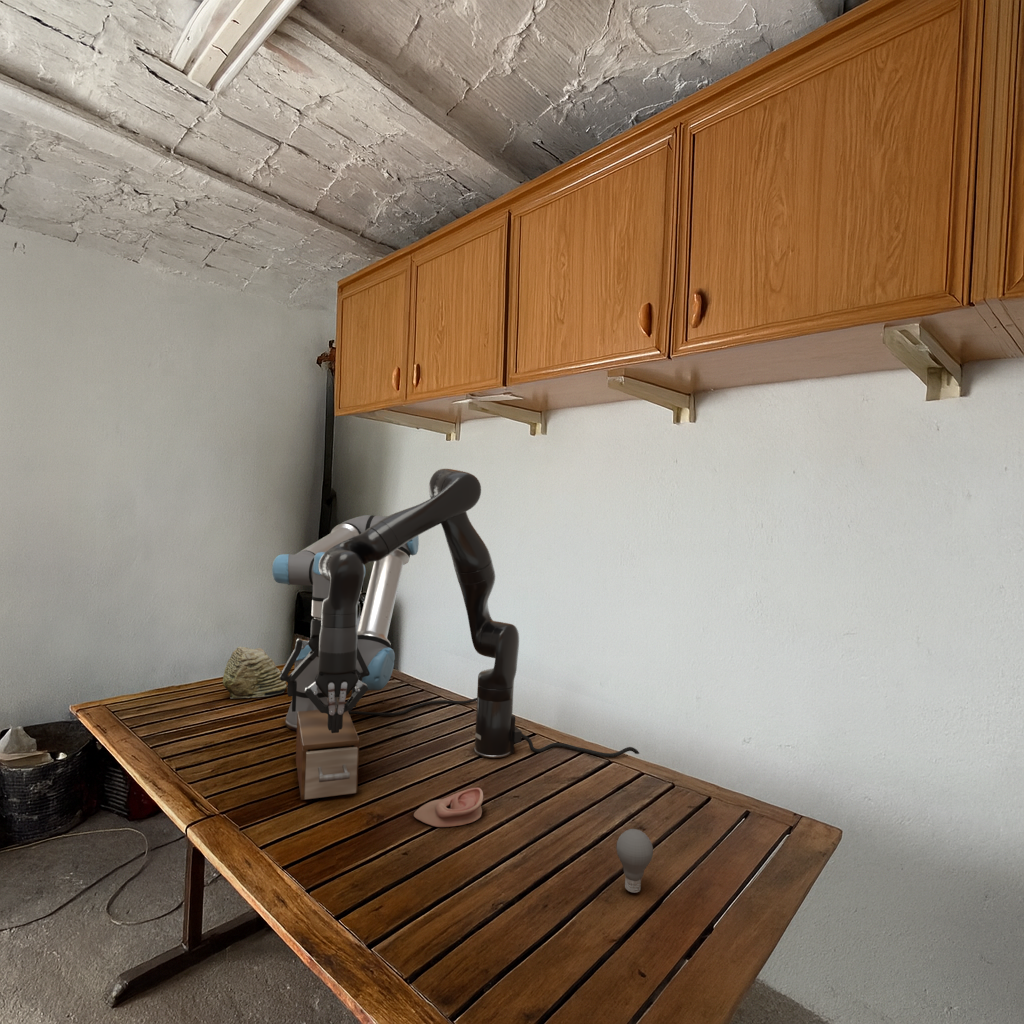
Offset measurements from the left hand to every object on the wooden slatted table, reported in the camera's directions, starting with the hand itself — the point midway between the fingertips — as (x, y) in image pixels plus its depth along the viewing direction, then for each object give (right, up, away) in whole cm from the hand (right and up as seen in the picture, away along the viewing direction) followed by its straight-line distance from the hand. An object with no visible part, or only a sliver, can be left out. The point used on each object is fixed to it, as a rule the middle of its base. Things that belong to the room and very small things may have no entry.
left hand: (324, 707), depth 149 cm
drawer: (+4, -13, -10) cm, 17 cm away
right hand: (+8, +1, -20) cm, 22 cm away
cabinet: (+2, -14, -5) cm, 15 cm away
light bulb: (+64, -17, -44) cm, 80 cm away
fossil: (-36, -11, +49) cm, 62 cm away
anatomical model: (+32, -15, -21) cm, 41 cm away
